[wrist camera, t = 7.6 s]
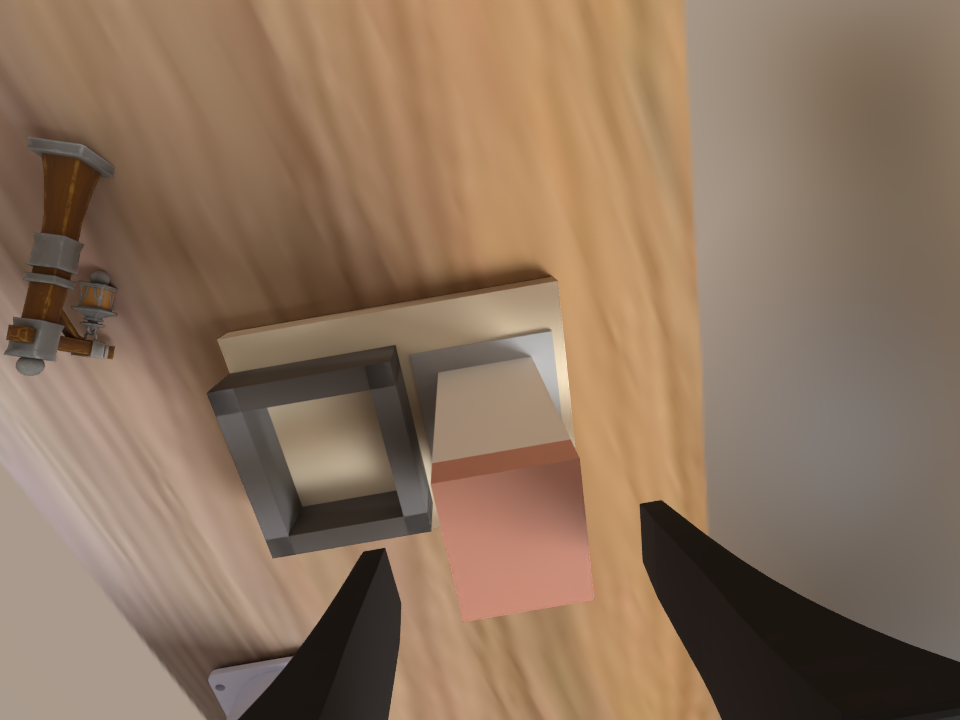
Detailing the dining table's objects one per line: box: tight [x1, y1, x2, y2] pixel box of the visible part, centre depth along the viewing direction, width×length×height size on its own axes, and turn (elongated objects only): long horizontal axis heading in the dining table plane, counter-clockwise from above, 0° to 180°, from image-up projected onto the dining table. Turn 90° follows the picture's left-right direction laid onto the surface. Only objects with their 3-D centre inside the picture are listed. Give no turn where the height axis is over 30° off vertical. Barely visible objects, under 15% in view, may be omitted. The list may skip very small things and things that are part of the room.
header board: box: [207, 277, 576, 558], centre depth 21 cm, size 11×14×3 cm
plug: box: [431, 356, 594, 622], centre depth 17 cm, size 5×4×8 cm
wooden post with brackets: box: [4, 136, 117, 376], centre depth 18 cm, size 2×8×4 cm, turn 172°
